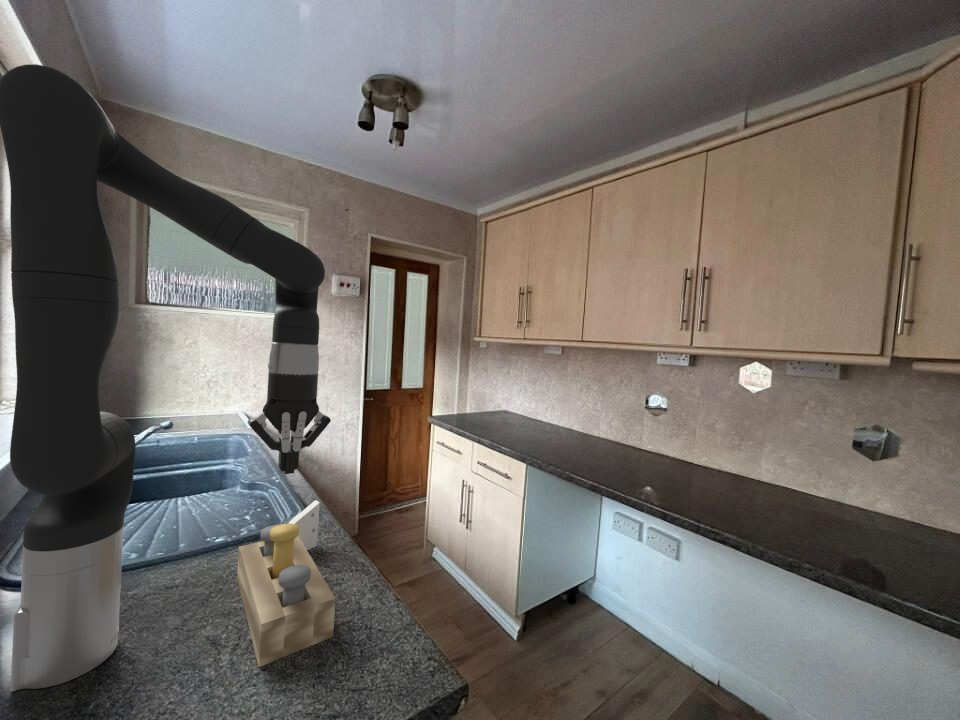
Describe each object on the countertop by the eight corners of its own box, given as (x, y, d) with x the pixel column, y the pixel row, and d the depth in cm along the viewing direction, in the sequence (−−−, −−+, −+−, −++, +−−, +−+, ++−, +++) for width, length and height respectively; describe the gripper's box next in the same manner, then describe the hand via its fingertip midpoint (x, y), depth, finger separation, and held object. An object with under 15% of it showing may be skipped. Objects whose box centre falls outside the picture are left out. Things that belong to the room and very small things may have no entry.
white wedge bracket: (335, 530, 86) (319, 502, 83) (296, 566, 80) (276, 538, 76) (327, 524, 89) (311, 497, 85) (288, 559, 82) (269, 531, 79)
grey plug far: (260, 588, 68) (262, 538, 67) (256, 575, 71) (258, 528, 71) (287, 580, 70) (289, 532, 70) (281, 568, 74) (284, 522, 74)
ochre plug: (269, 593, 61) (272, 538, 61) (264, 579, 65) (267, 527, 64) (299, 584, 64) (302, 531, 64) (292, 571, 67) (295, 521, 67)
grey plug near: (278, 646, 55) (282, 585, 55) (272, 627, 58) (276, 570, 58) (310, 633, 58) (314, 575, 58) (303, 616, 61) (306, 561, 61)
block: (258, 667, 52) (261, 624, 52) (237, 578, 71) (238, 546, 70) (333, 636, 58) (335, 598, 58) (295, 562, 77) (296, 533, 77)
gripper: (252, 371, 57) (245, 486, 57) (341, 373, 65) (335, 473, 65) (245, 367, 62) (239, 472, 63) (327, 369, 71) (322, 461, 71)
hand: (288, 472), depth 64 cm, fingers closed
